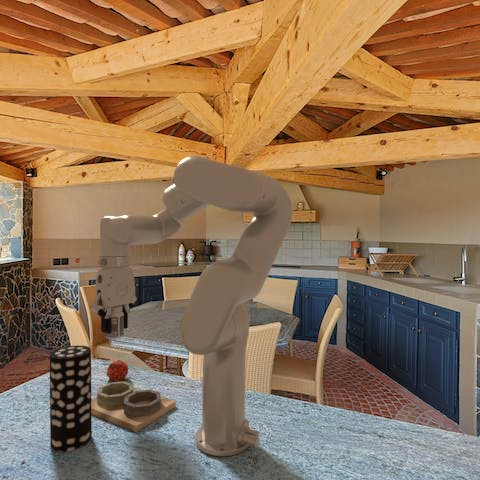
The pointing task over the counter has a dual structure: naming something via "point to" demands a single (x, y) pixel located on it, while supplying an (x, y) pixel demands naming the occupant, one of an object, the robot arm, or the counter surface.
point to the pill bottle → (116, 323)
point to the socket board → (129, 405)
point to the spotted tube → (70, 398)
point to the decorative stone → (117, 370)
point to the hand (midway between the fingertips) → (114, 329)
